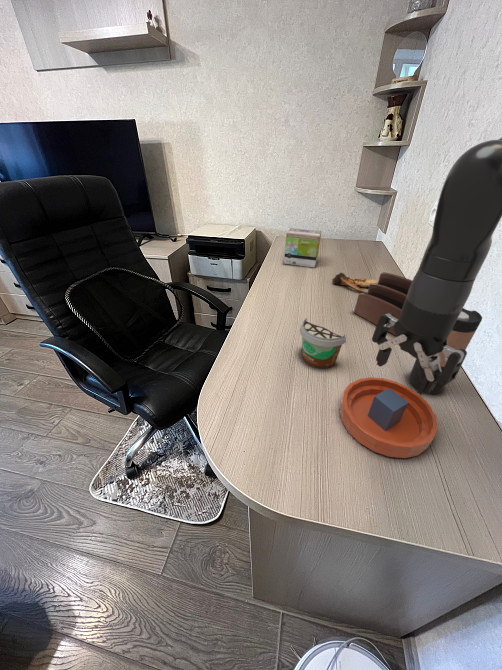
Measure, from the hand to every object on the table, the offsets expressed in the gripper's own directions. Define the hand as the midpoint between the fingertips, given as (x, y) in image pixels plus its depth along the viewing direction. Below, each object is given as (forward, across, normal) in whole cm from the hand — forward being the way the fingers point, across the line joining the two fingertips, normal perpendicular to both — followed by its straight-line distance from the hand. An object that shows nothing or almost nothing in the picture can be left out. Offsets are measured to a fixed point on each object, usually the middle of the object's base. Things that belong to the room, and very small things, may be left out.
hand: (400, 377), depth 51 cm
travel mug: (+12, +2, -18) cm, 22 cm away
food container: (+13, +22, 0) cm, 25 cm away
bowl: (+12, 0, 0) cm, 12 cm away
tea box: (+13, +82, -44) cm, 94 cm away
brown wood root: (+13, +49, -45) cm, 68 cm away
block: (+12, 0, 0) cm, 12 cm away
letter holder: (+13, +25, -34) cm, 44 cm away
